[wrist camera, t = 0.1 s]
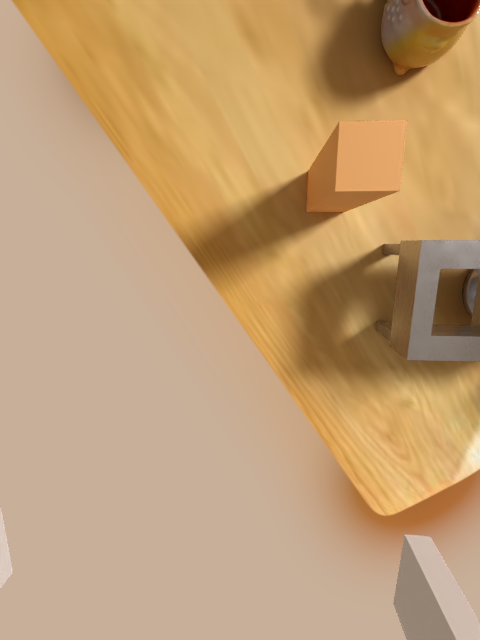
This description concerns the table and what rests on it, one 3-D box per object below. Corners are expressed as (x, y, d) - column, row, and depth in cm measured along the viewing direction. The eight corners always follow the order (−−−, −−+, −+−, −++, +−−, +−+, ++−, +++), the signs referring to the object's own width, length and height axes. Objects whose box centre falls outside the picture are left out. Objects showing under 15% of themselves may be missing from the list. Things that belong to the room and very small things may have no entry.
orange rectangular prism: (308, 171, 33) (339, 121, 20) (347, 170, 33) (407, 119, 20) (306, 212, 34) (335, 191, 21) (344, 211, 34) (399, 190, 20)
